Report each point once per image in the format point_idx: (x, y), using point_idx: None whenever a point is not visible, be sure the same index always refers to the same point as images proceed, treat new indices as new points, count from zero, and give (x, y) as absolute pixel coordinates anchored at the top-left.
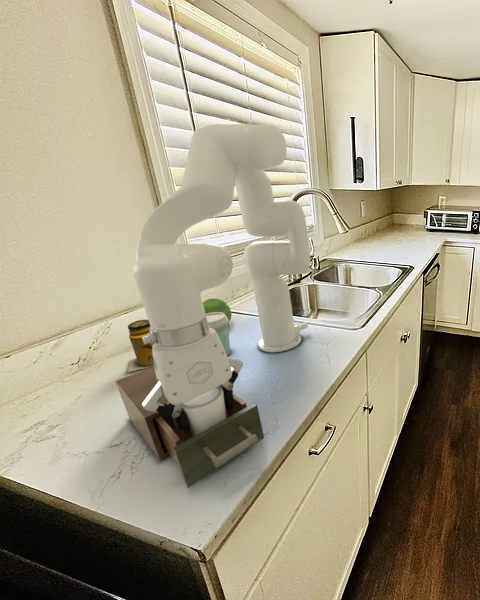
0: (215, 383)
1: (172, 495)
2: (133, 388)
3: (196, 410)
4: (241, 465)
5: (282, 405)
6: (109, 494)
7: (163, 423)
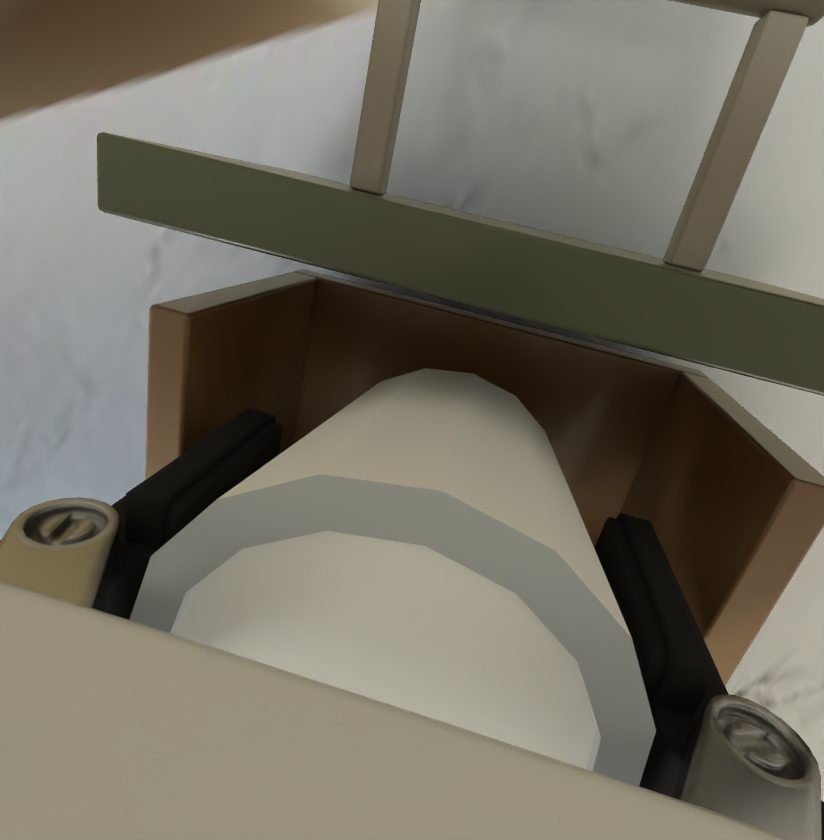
0: (67, 701)
1: None
2: None
3: (589, 571)
4: (496, 156)
5: (69, 319)
6: None
7: None
